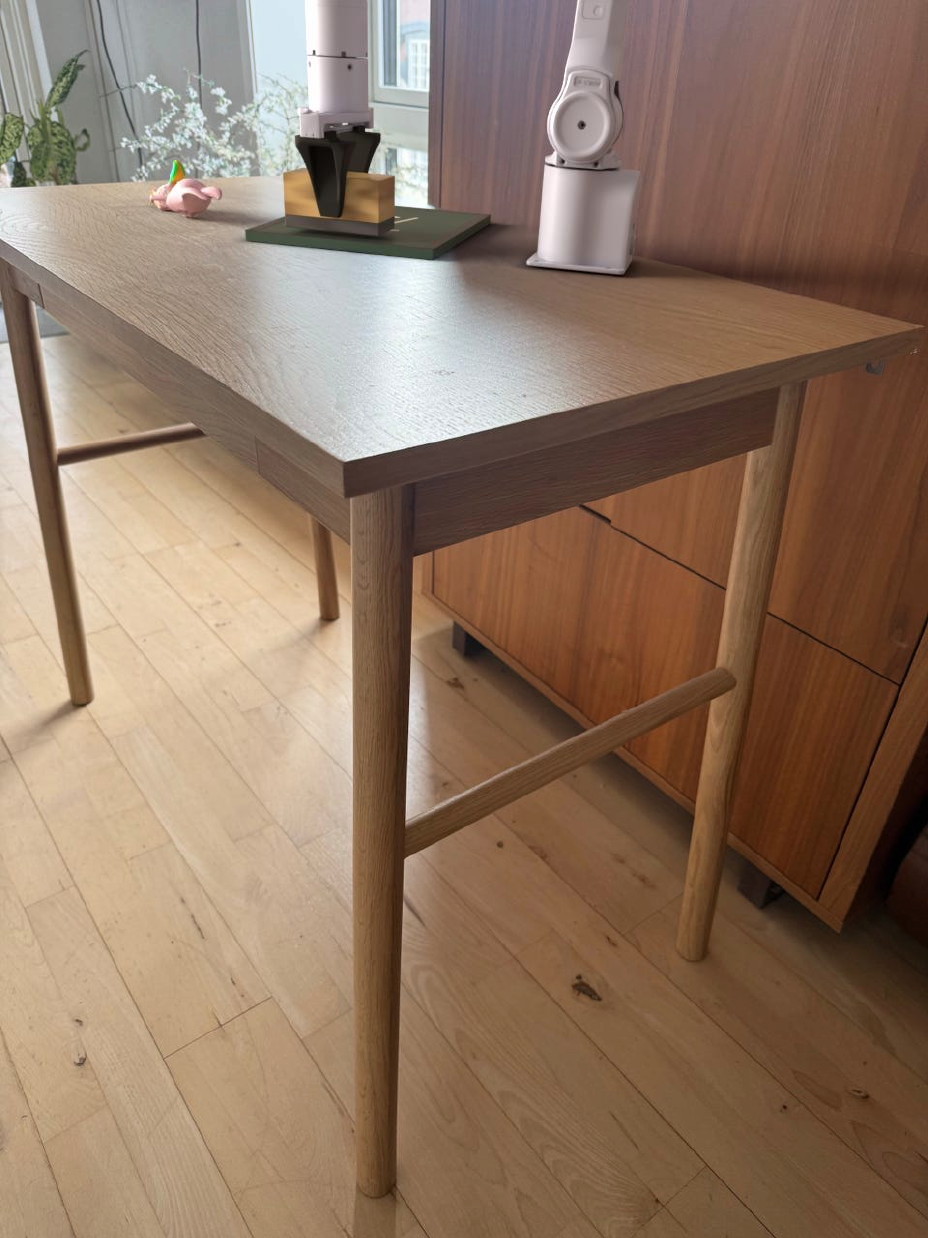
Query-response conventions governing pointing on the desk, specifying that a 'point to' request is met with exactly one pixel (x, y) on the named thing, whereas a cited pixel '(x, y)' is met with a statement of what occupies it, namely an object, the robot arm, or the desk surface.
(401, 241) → the chalkboard
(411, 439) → the desk surface
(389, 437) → the desk surface
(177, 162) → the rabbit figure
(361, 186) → the eraser
